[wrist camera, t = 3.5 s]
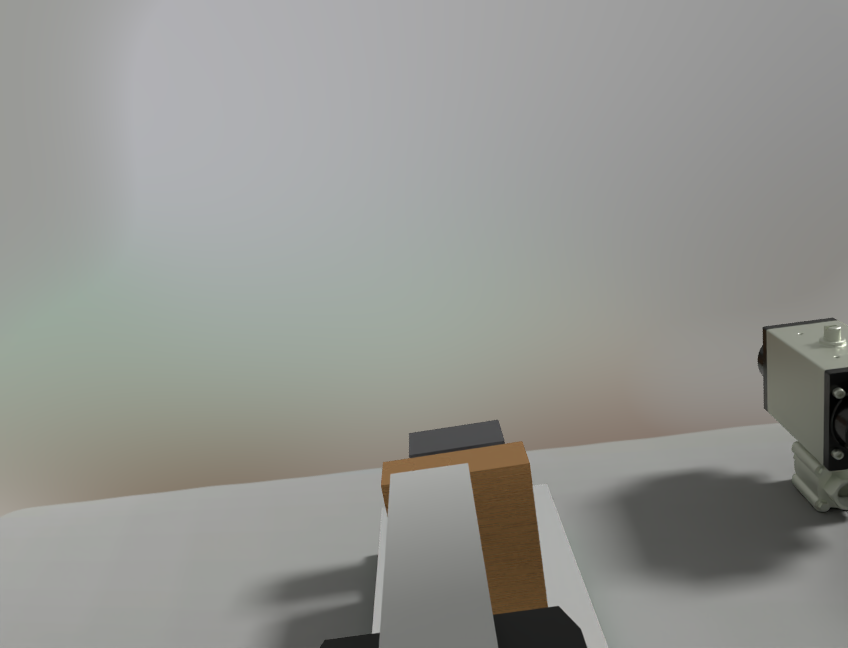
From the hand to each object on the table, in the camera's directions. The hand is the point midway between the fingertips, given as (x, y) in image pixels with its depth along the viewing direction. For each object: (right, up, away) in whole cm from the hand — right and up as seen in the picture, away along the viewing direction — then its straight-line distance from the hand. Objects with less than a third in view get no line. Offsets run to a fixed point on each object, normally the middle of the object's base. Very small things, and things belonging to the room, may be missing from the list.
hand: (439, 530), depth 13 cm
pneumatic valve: (+27, -8, +32) cm, 42 cm away
